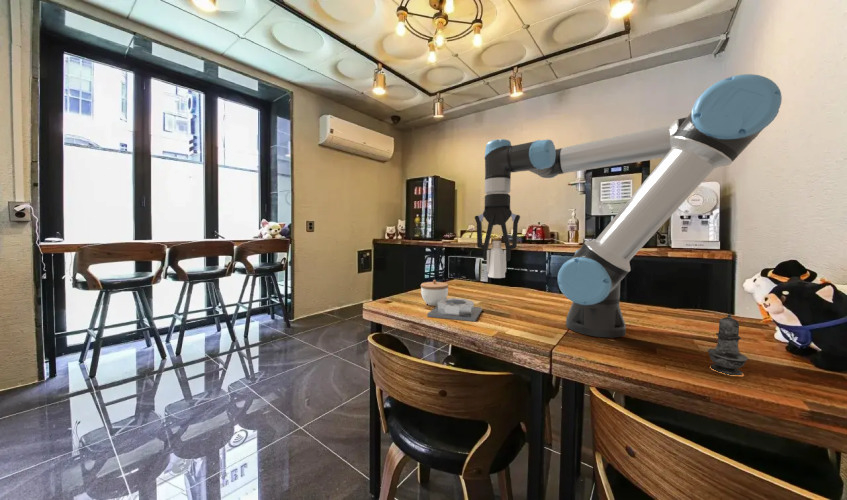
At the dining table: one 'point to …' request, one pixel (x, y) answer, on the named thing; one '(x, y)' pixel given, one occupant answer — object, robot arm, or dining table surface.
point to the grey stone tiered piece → (727, 348)
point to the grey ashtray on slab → (456, 309)
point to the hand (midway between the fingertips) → (496, 271)
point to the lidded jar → (434, 292)
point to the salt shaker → (496, 261)
